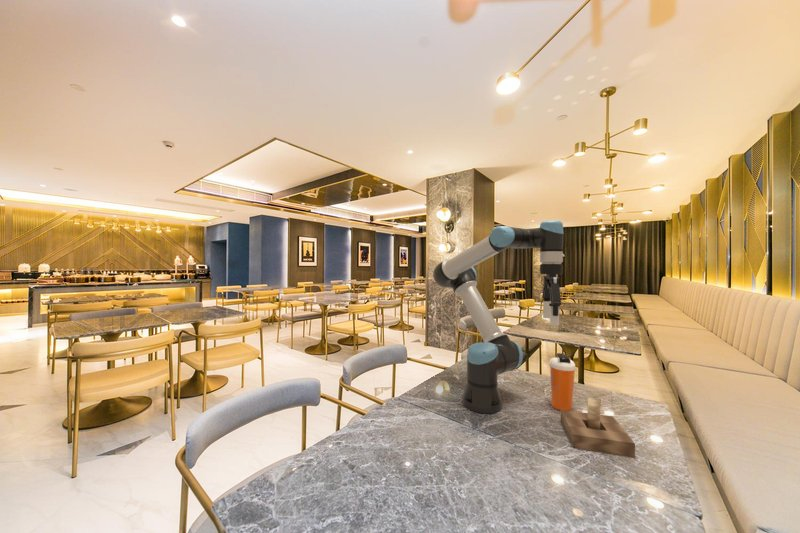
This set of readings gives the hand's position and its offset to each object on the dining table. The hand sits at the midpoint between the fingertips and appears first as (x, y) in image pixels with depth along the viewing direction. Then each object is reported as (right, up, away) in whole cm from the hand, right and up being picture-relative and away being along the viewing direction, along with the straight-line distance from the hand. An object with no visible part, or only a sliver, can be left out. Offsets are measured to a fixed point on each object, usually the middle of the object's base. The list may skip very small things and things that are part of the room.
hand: (550, 321), depth 110 cm
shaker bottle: (+8, -35, +7) cm, 37 cm away
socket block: (+7, -35, -13) cm, 38 cm away
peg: (+7, -35, -13) cm, 38 cm away
